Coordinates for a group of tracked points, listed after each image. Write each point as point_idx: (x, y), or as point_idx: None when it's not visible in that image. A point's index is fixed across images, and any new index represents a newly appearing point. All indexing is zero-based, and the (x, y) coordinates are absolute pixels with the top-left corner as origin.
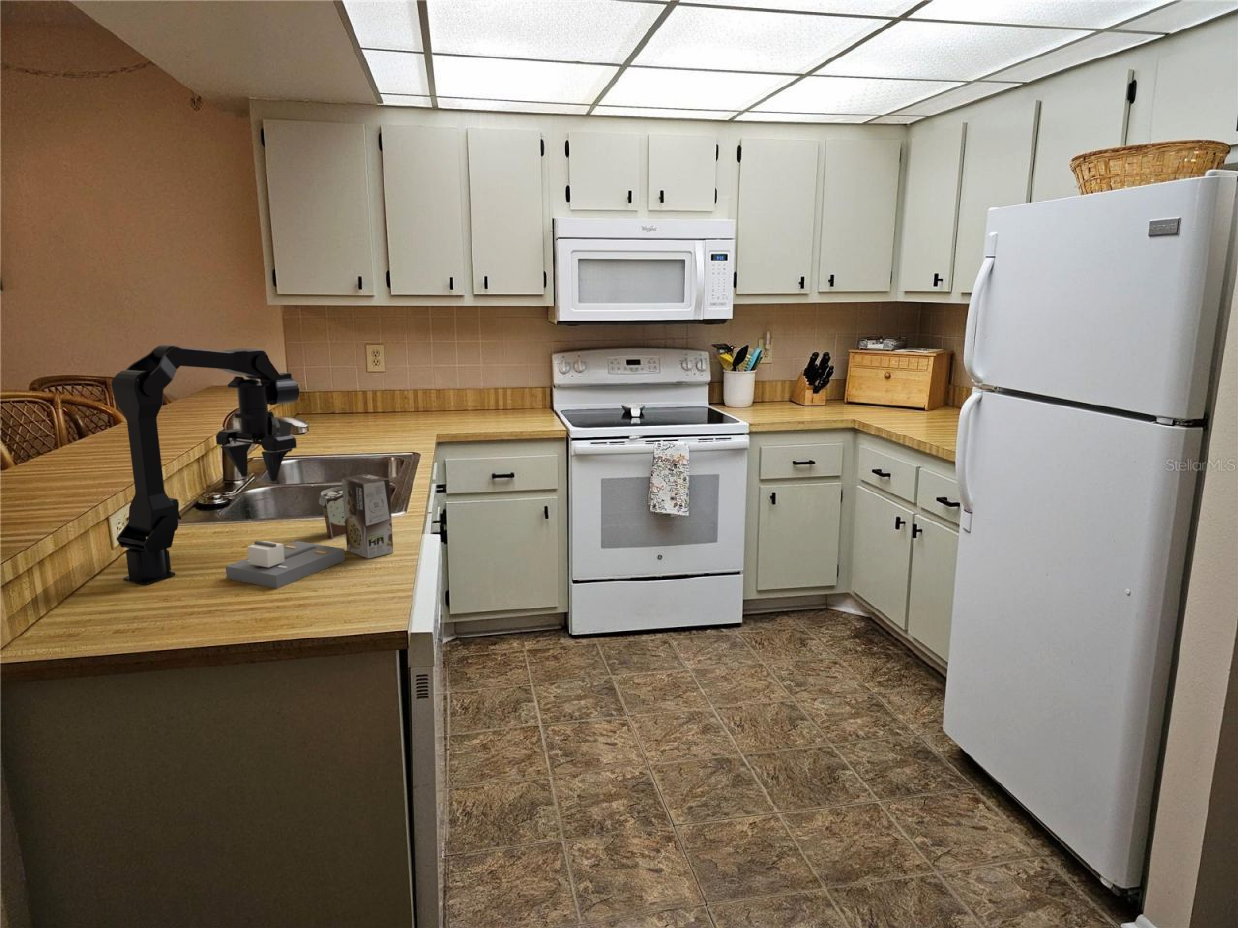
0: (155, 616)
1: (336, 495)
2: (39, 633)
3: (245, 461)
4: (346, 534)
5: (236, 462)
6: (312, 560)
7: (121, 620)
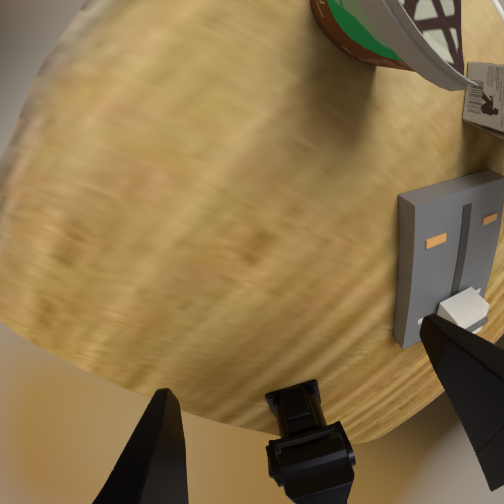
0: (406, 392)
1: (439, 3)
2: (349, 439)
3: (156, 477)
4: (492, 130)
5: (187, 499)
6: (494, 249)
7: (385, 408)
